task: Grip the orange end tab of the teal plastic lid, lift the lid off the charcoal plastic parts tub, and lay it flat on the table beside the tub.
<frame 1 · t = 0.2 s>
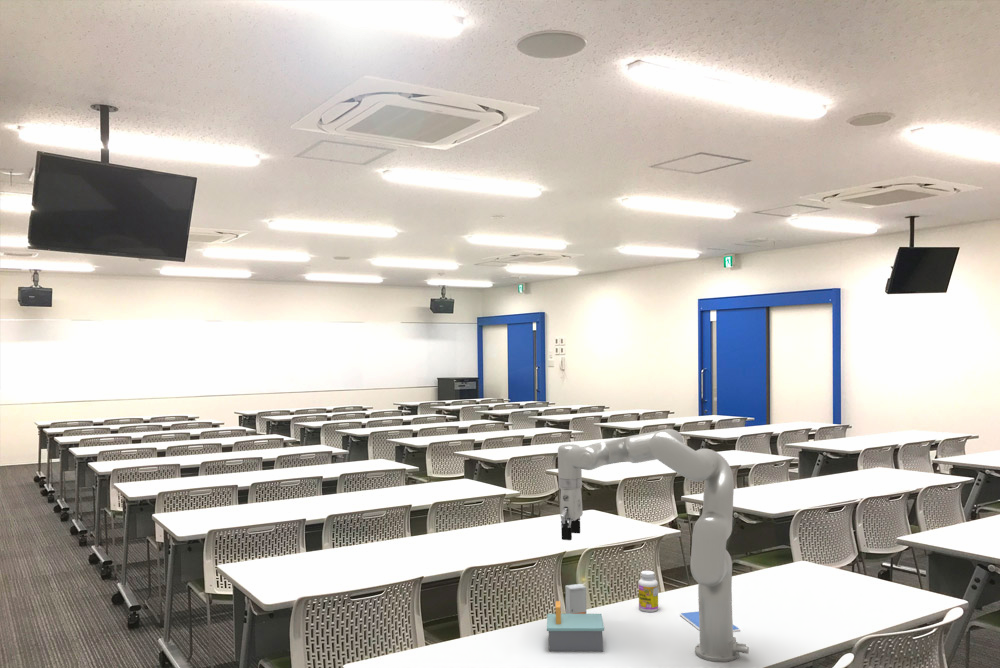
hand: (571, 536, 246), 31 cm above the table, tool pointing down, fingers open, 9 cm apart
tablet computer: (709, 625, 250), on the table
skincare box: (576, 622, 254), on the table
lid: (574, 623, 233), point 7 cm above the table, touching tub
tub: (575, 646, 232), on the table
supplement bottle: (648, 610, 265), on the table
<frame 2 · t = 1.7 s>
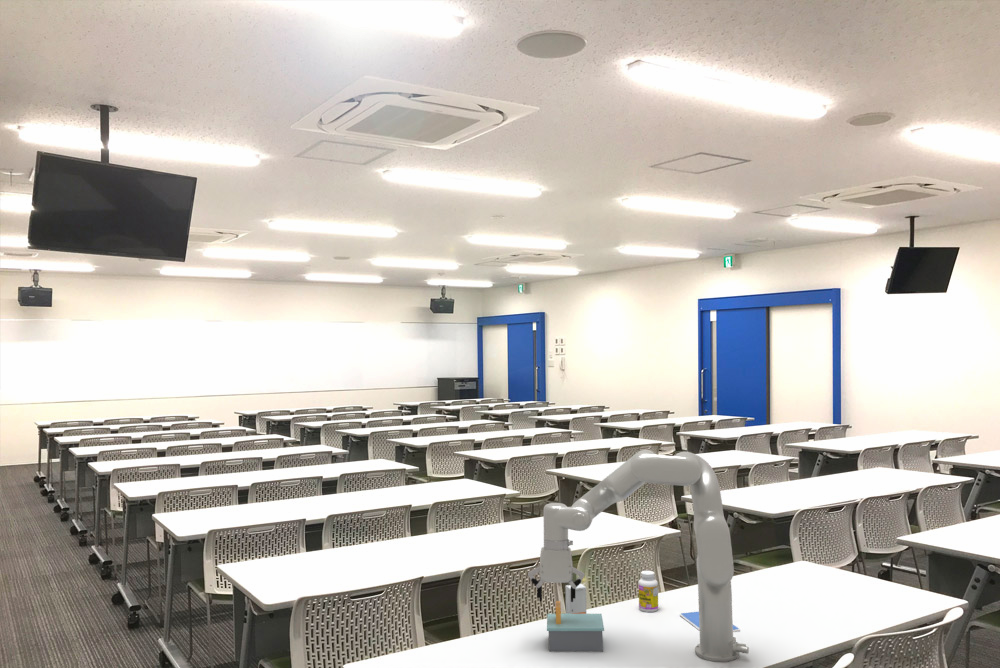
hand: (556, 600, 233), 14 cm above the table, tool pointing down, fingers open, 9 cm apart
nothing on the table moved.
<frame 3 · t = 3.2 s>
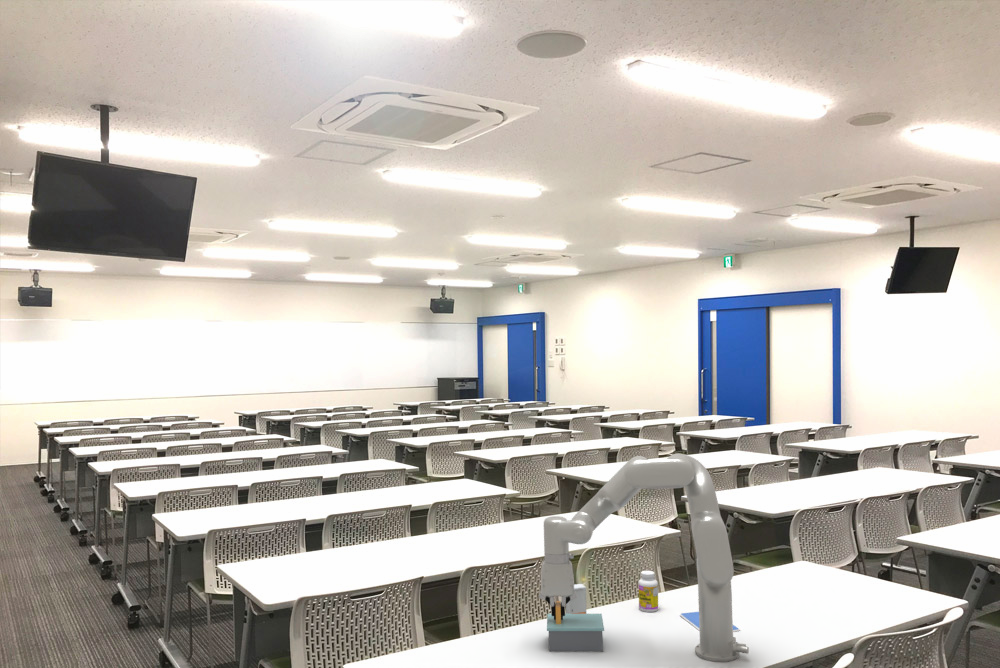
hand: (558, 618, 233), 9 cm above the table, tool pointing down, fingers closed on lid
lid: (574, 623, 233), point 7 cm above the table, touching gripper, tub
everything else where it was.
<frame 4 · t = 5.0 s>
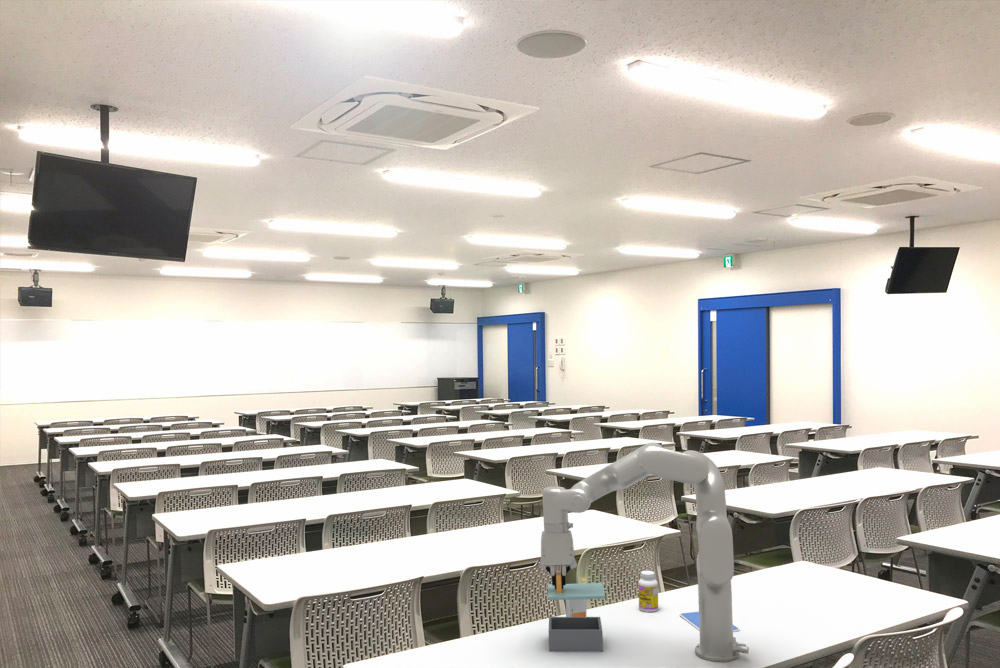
hand: (559, 587, 233), 18 cm above the table, tool pointing down, fingers closed on lid
lid: (575, 592, 233), point 16 cm above the table, touching gripper
everything else where it was.
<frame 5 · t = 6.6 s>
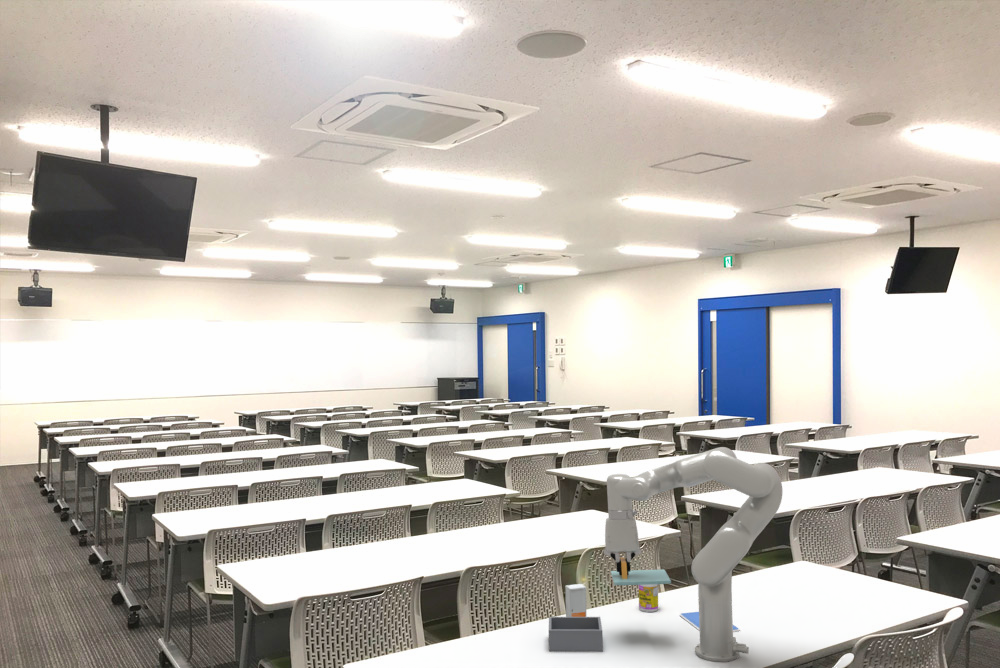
hand: (623, 573, 237), 21 cm above the table, tool pointing down, fingers closed on lid
lid: (640, 578, 236), point 19 cm above the table, touching gripper
everything else where it was.
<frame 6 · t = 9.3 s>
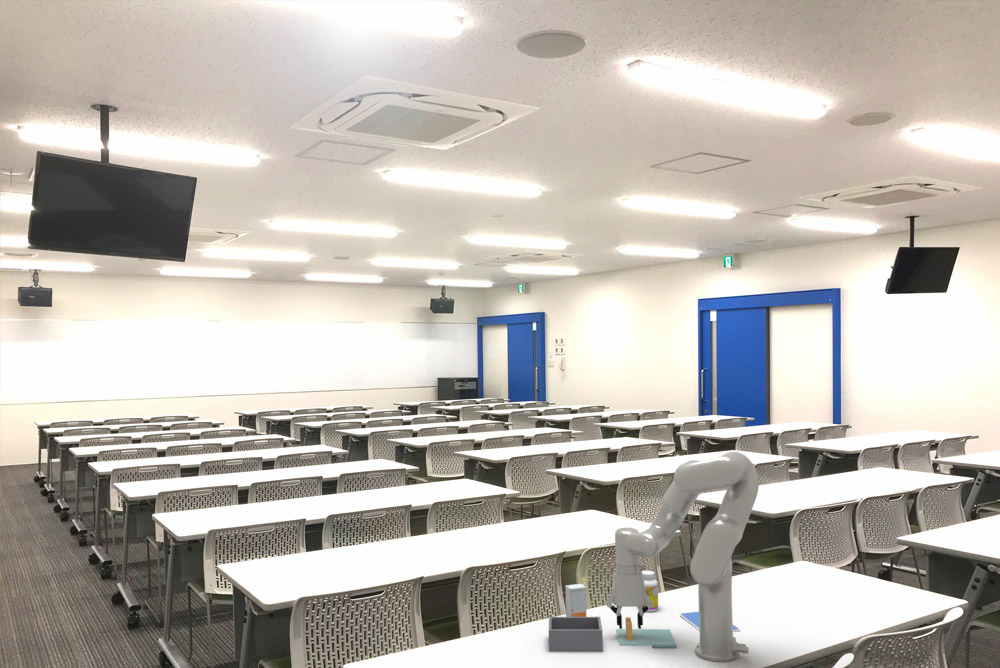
hand: (629, 626, 237), 4 cm above the table, tool pointing down, fingers open, 5 cm apart
lid: (645, 639, 236), on the table
everything else where it was.
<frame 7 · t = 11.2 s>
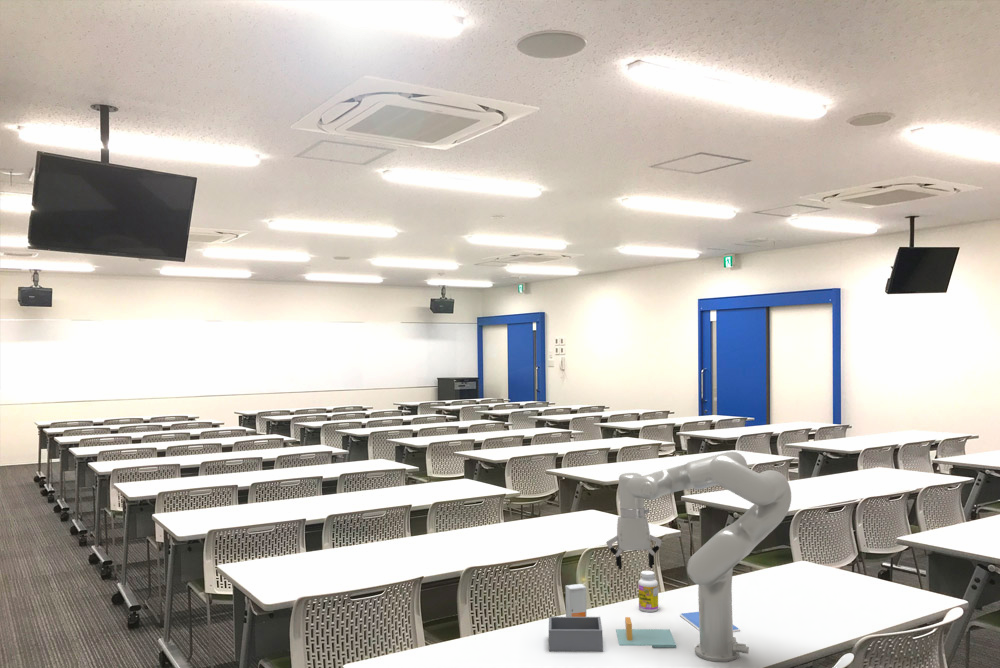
hand: (635, 567, 239), 22 cm above the table, tool pointing down, fingers open, 9 cm apart
nothing on the table moved.
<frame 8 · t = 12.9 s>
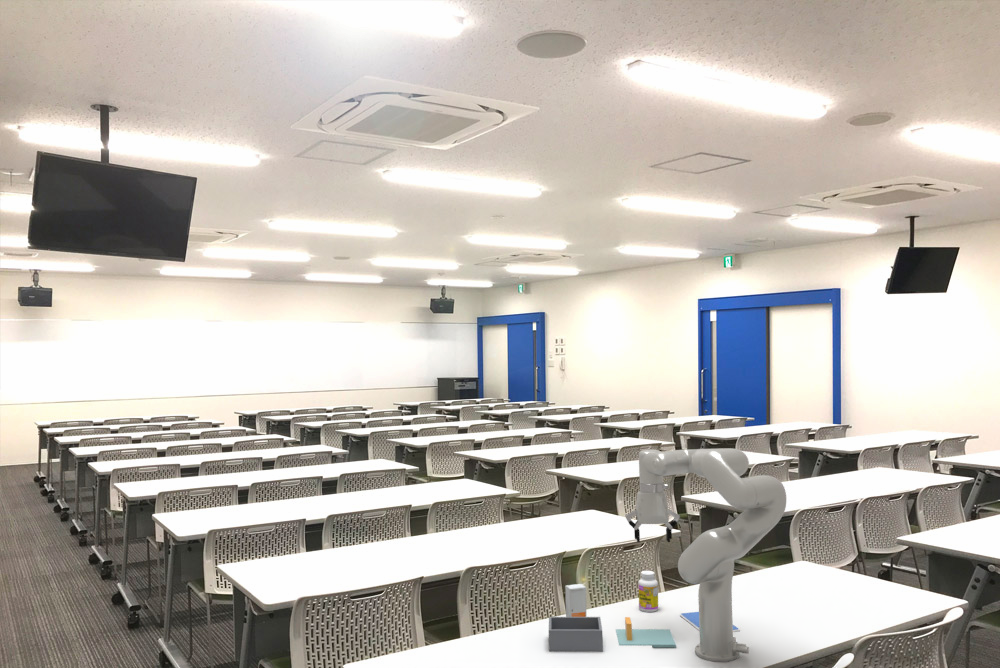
hand: (653, 541, 246), 28 cm above the table, tool pointing down, fingers open, 9 cm apart
nothing on the table moved.
at the end: lid touching table; lid inside the target area (0.6 cm from its centre), on the table; lid tilted 0° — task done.
